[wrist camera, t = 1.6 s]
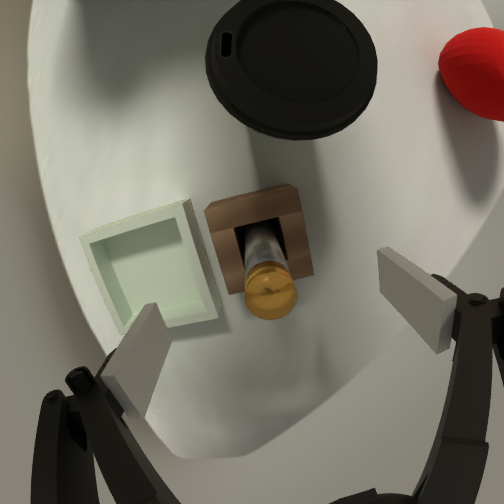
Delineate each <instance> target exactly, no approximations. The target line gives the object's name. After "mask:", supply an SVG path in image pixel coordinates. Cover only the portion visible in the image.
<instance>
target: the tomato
mask: <svg viewBox="0 0 504 504" xmlns="http://www.w3.org/2000/svg"><path fill="white" fill-rule="evenodd" d="M438 65H439V69H440V72H441V75H442V78H443V80H444V82H445V84H446V86H447V88H448V89H449V91H450V92H451V94H452V95H453V96H454V97H455V98H456V100H457V101H458V102H459V103H460V104H461V105H462V106H463V107H464V108H466V109H467V110H469V111H470V112H472V113H474V114H476V115H478V116H480V117H483V118H486V119H491V120H496V121H503V122H504V31H502V30H499V29H494V28H487V27H481V28H474V29H469V30H467V31H464V32H462V33H460V34H457V35H456V36H455V37H453V38H452V39H451V40H450V41H449V42H447V43H446V45H445V47H444V48H443V50H442V51H441V53H440V57H439V62H438Z"/></svg>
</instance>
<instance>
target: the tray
mask: <svg viewBox="0 0 504 504" xmlns="http://www.w3.org/2000/svg"><path fill="white" fill-rule="evenodd" d="M79 239H80V241H81V244H82V247H83V250H84V253H85V255H86V258H87V261H88V263H89V266H90V268H91V271H92V273H93V276H94V278H95V281H96V283H97V285H98V288H99V290H100V292H101V295H102V297H103V299H104V301H105V304H106V306H107V308H108V310H109V312H110V314H111V317H112V319H113V321H114V323H115V325H116V327H117V329H118V331H119V333H120V335H125V334H126V333H127V331H128V330H129V328H130V327H131V325H132V323H133V322H134V320H135V319H136V317H137V316H138V314H139V313H140V311H141V310H142V308H143V307H144V305H145V304H149V303H154V302H156V303H157V305H158V308H159V310H160V313H161V315H162V317H163V320H164V322H165V324H166V327H167V328H170V327H175V326H181V325H186V324H192V323H197V322H202V321H207V320H213V319H218V318H219V314H220V308H221V299H220V296H219V293H218V290H217V287H216V283H215V280H214V277H213V274H212V271H211V268H210V265H209V261H208V258H207V255H206V252H205V248H204V245H203V242H202V238H201V235H200V232H199V228H198V225H197V222H196V218H195V215H194V211H193V208H192V204H191V201H190V198H189V199H186V200H182V201H179V202H176V203H172V204H169V205H166V206H162V207H159V208H156V209H152V210H149V211H146V212H143V213H140V214H137V215H134V216H131V217H128V218H125V219H122V220H119V221H116V222H113V223H110V224H107V225H104V226H101V227H98V228H96V229H93V230H92V231H90V232H88V233H86V234H84V235H82V236H80V237H79Z"/></svg>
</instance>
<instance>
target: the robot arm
mask: <svg viewBox="0 0 504 504" xmlns="http://www.w3.org/2000/svg"><path fill="white" fill-rule="evenodd" d="M377 256H378V268H379V283H380V292H381V293H382V294H383V295H384V297H385V298H386V299H387V300H388V301H389V302H390V303H391V304H392V305H393V306H394V307H395V308H396V309H397V311H398V312H399V313H400V314H401V315H402V316H403V317H404V318H405V319H406V320H407V321H408V323H409V324H410V325H411V326H412V327H413V328H414V329H415V330H416V332H417V333H418V334H419V335H420V336H421V337H422V338H423V340H424V341H425V342H426V343H427V344H428V345H429V346H430V348H431V349H432V350H433V351H434V352H435V353H436V354H438V353H441V352H443V351H445V350H447V349H449V348H450V343H451V337H452V338H453V339H454V340H455V341H456V346H455V351H454V355H453V360H452V361H453V365H452V371H451V376H450V381H449V386H448V391H447V396H446V400H445V404H444V409H443V412H442V416H441V420H440V423H439V427H438V430H437V433H436V437H435V440H434V443H433V446H432V449H431V452H430V454H429V458H428V460H427V463H426V465H425V468H424V470H423V473H422V476H421V478H420V480H419V482H418V484H417V486H416V488H415V490H414V492H413V494H412V496H409V495H404V494H395V493H385V494H377V492H376V489H375V488H373V489H370V490H367V491H364V492H361V493H357V494H354V495H351V496H347V497H344V498H340V499H338V500H336V501H334V502H332V503H330V504H474V503H475V500H476V497H477V494H478V491H479V487H480V484H481V480H482V477H483V473H484V469H485V464H486V460H487V455H488V449H489V444H488V442H485V437H486V431H487V424H488V417H489V409H490V399H491V386H492V385H491V384H492V347H493V350H494V354H495V357H496V360H497V363H498V367H499V371H500V374H501V378H502V381H503V386H504V288H502V289H501V292H500V298H497V299H492V300H488V298H487V297H486V296H485V295H482V294H479V293H471V294H466V293H465V292H464V291H462V290H461V289H459V288H458V287H456V286H455V285H453V284H452V283H451V282H448V280H447V279H445V278H444V277H442V276H439V275H436V274H432V275H429V274H428V273H426V272H425V271H424V270H422V269H421V268H419V267H418V266H416V265H415V264H413V263H412V262H411V261H409V260H408V259H406V258H405V257H403V256H402V255H400V254H399V253H397V252H396V251H394V250H393V249H391V248H390V247H385V248H381V249H378V250H377ZM171 342H172V338H171V336H170V333H169V331H168V329H167V327H166V324H165V322H164V320H163V317H162V315H161V313H160V310H159V308H158V305H157V303H156V302H154V303H149V304H145V305H144V307H143V308H142V310H141V311H140V313H139V314H138V316H137V317H136V319H135V320H134V322H133V323H132V325H131V327H130V328H129V330H128V331H127V333H126V334H125V336H124V338H123V339H122V341H121V342H120V344H119V346H118V347H117V348H115V349H114V350H113V351H112V352H111V353H110V354H109V355H108V356H107V358H106V360H105V362H104V363H103V365H102V367H101V368H100V369H99V371H98V373H97V374H96V376H95V378H94V377H93V375H92V374H91V373H90V371H89V369H88V368H87V367H84V366H82V367H78V368H76V369H74V370H72V371H71V372H70V373H69V374H68V375H67V376H66V378H65V382H66V383H67V385H68V386H69V388H70V389H71V391H72V392H73V394H74V395H72V396H68V397H65V395H64V394H63V392H62V391H61V390H53V391H50V392H49V393H47V394H46V396H45V397H44V399H43V401H42V405H41V410H40V415H39V421H38V427H37V433H36V439H35V447H34V455H33V465H32V477H31V504H100V503H99V498H98V491H97V484H96V476H95V468H94V457H93V453H94V456H95V458H96V461H97V463H98V465H99V468H100V470H101V472H102V475H103V477H104V479H105V481H106V484H107V486H108V488H109V490H110V492H111V494H112V496H113V498H114V500H115V502H116V504H181V503H180V502H179V501H178V499H177V498H176V497H175V496H174V494H173V493H172V492H171V491H170V489H169V488H168V487H167V485H166V484H165V483H164V481H163V480H162V478H161V477H160V476H159V474H158V473H157V472H156V470H155V469H154V467H153V466H152V464H151V463H150V461H149V460H148V458H147V457H146V455H145V454H144V452H143V451H142V449H141V447H140V446H139V444H138V443H137V441H136V440H135V438H134V436H133V434H132V433H131V431H130V429H129V428H128V426H127V424H126V422H125V421H124V419H123V418H122V414H123V412H125V413H126V414H127V416H128V417H129V418H130V419H144V417H145V414H146V411H147V408H148V405H149V403H150V400H151V397H152V394H153V391H154V388H155V386H156V383H157V380H158V377H159V375H160V372H161V369H162V366H163V364H164V361H165V358H166V356H167V353H168V350H169V348H170V345H171Z"/></svg>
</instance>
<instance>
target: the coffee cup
mask: <svg viewBox="0 0 504 504" xmlns="http://www.w3.org/2000/svg"><path fill="white" fill-rule="evenodd" d="M377 63H378V60H377V55H376V50H375V46H374V44H373V41H372V39H371V36H370V34H369V33H368V31H367V30H366V28H365V27H364V25H363V24H362V22H361V21H360V20H359V19H358V18H357V17H356V16H355V15H354V14H353V13H352V12H351V11H350V10H348V9H347V8H346V7H344V6H343V5H342V4H340V3H339V2H337V1H335V0H241V1H239V2H238V3H237V4H236V5H235V6H233V7H232V8H231V9H230V10H229V11H228V12H227V13H225V14H224V15H223V16H222V18H221V19H220V20H219V22H218V23H217V24H216V26H215V27H214V29H213V31H212V33H211V35H210V38H209V40H208V44H207V49H206V55H205V64H206V74H207V77H208V80H209V84H210V87H211V89H212V90H213V92H214V94H215V96H216V97H217V99H218V101H219V102H220V103H221V104H222V105H223V106H224V108H225V109H226V110H227V111H228V112H229V113H230V114H231V115H232V116H234V117H235V118H236V119H237V120H239V121H240V122H241V123H243V124H244V125H246V126H248V127H250V128H252V129H254V130H256V131H257V132H259V133H263V134H266V135H269V136H272V137H275V138H280V139H287V140H293V141H295V140H314V139H318V138H323V137H327V136H330V135H332V134H334V133H337V132H339V131H342V130H343V129H344V128H346V127H347V126H349V125H350V124H352V123H353V122H354V121H355V120H356V119H357V118H358V117H359V116H360V115H361V114H362V112H363V111H364V110H365V109H366V107H367V106H368V104H369V102H370V100H371V98H372V96H373V93H374V89H375V86H376V80H377Z"/></svg>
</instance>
